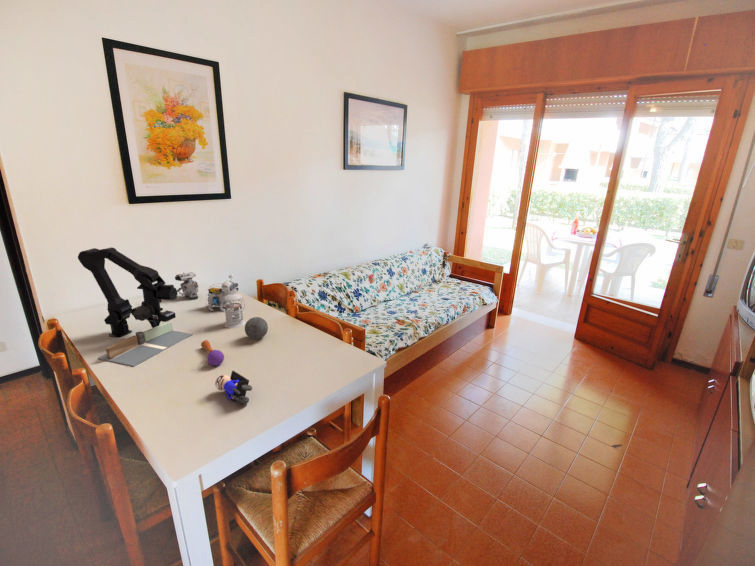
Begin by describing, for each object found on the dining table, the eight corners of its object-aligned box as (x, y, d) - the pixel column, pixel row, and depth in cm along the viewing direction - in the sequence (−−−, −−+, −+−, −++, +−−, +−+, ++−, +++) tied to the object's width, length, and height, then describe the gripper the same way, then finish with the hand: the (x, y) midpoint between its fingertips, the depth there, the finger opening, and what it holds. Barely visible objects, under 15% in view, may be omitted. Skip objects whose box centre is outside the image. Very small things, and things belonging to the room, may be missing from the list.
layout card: (97, 358, 144) (97, 357, 144) (160, 328, 172) (160, 328, 172) (133, 366, 140) (133, 365, 140) (192, 334, 167) (192, 333, 167)
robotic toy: (235, 312, 194) (232, 285, 189) (202, 311, 194) (199, 284, 189) (243, 304, 206) (241, 278, 202) (212, 303, 206) (210, 277, 202)
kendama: (213, 336, 158) (226, 352, 142) (212, 350, 158) (225, 367, 143) (198, 337, 154) (210, 353, 138) (197, 351, 155) (208, 368, 139)
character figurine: (238, 411, 117) (214, 393, 126) (258, 400, 122) (234, 383, 132) (234, 391, 115) (210, 374, 124) (255, 380, 120) (230, 364, 129)
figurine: (174, 298, 211) (170, 273, 206) (195, 294, 219) (192, 269, 214) (180, 302, 205) (176, 276, 200) (201, 298, 213) (198, 273, 208)
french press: (219, 325, 178) (214, 276, 171) (236, 317, 188) (232, 270, 181) (235, 329, 174) (231, 278, 167) (252, 320, 185) (249, 272, 177)
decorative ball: (240, 339, 164) (238, 319, 161) (257, 331, 173) (255, 312, 170) (257, 345, 160) (255, 324, 157) (273, 336, 168) (272, 316, 166)
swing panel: (143, 340, 158) (142, 332, 157) (170, 329, 170) (169, 321, 169) (145, 341, 158) (144, 332, 157) (172, 330, 169) (171, 322, 168)
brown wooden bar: (106, 358, 144) (104, 346, 142) (141, 341, 158) (139, 331, 157) (111, 359, 143) (109, 348, 142) (145, 342, 158) (144, 332, 156)
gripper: (117, 301, 155) (122, 334, 160) (153, 308, 150) (157, 342, 155) (140, 293, 165) (145, 324, 170) (174, 299, 161) (178, 332, 165)
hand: (155, 331), depth 165 cm, fingers closed
